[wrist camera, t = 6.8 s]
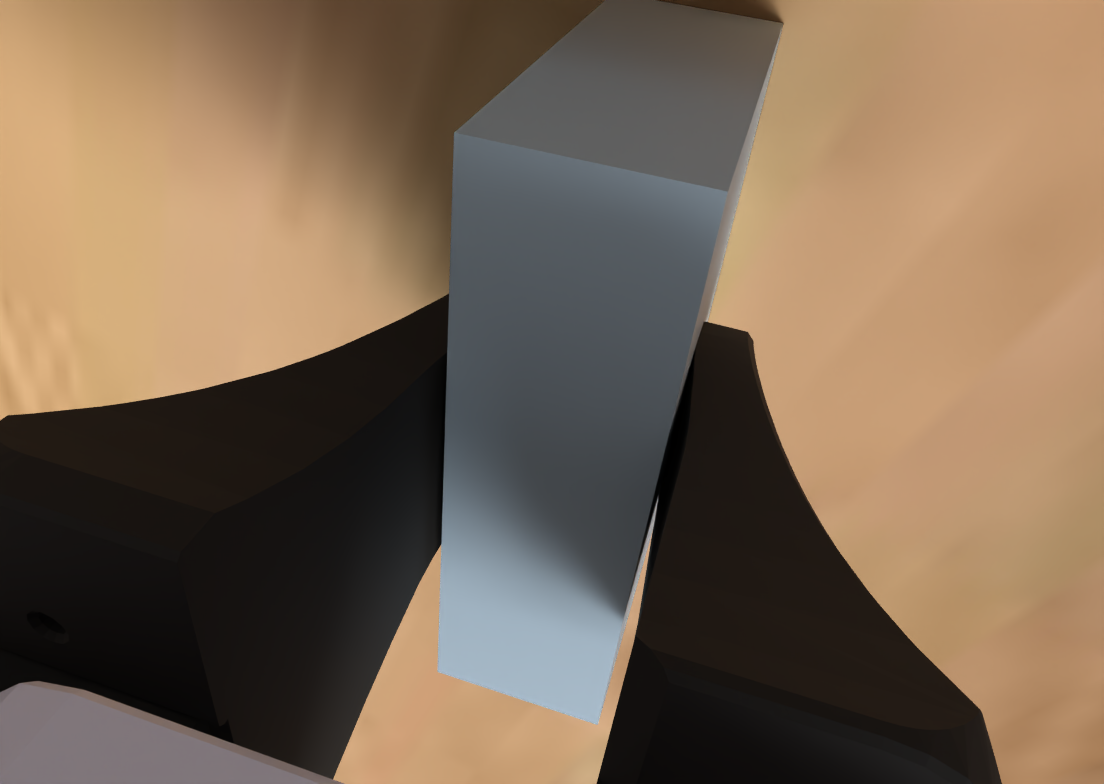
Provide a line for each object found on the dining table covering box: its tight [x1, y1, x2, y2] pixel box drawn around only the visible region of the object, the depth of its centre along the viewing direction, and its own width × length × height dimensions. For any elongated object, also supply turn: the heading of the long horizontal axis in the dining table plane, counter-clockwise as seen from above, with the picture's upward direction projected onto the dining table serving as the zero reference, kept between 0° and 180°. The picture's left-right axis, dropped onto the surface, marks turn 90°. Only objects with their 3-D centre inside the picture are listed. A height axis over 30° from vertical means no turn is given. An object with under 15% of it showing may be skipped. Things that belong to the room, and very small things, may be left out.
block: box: [438, 0, 783, 725], centre depth 12 cm, size 2×8×6 cm, turn 174°
